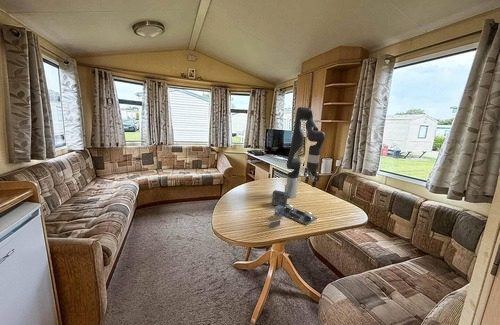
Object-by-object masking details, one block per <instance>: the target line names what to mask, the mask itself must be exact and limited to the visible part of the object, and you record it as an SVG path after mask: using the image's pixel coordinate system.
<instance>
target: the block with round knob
mask: <svg viewBox="0 0 500 325" xmlns="http://www.w3.org/2000/svg"><path fill="white" fill-rule="evenodd" d="M276 215H277V217H278V216H279V217H281V218H283V217H285V216H284V207H283V206H281V205H279V206H274V214H273V217H274V216H276Z"/></svg>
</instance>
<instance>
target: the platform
mask: <svg viewBox="0 0 500 325" xmlns="http://www.w3.org/2000/svg"><path fill="white" fill-rule="evenodd" d="M267 220H268V223H269V229H270V228H274V227H278V226H280V225H281V221H282V220H283V217H279V216H278V217H277V215H276V216H274V215H273V216H270V217H269V218H267Z"/></svg>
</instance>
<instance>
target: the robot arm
mask: <svg viewBox="0 0 500 325" xmlns="http://www.w3.org/2000/svg"><path fill="white" fill-rule="evenodd" d="M301 121H306V122H305V128H306V131H307V140H308V141H309V142H314V144H312V145H309V148H308V155H307V160H306V167H304V170H303V172H304V173H303V176H304V178H305V179H304V183H305V184H308V183H309V179H310V178H311V179H312V182H311V188H316V186H317V185H316V184H317V183H318V182H319V181H320V172H319V171H318V172H317V170H318V169H319V167H320V166H319V165H320V154H321V148H322V146H323V143H324V141H325V139H326V134H325V132H324V131H322V130H319V127H318V125H317V124H316V122H315V117H314V112H313V109H311V108H310V107H303V106H299V107H297V109H296V112H295V121H294V128H293V132H292V135H291V136H292V138H291V142H290V143H291V144H290V148H289V153H288V156H287V160H286V168H287V169H288V170H292V171H290V172H288V173H287V176H286V183H285V185H284V186H285V187H284V192H287V193H288V196H287V198H291V199H294V198H296V197H297V191H298V182H299V175H300V170H301V164H302V162H301V159H300V158H296V157H295V155H296V153H298V151H300V149H301V148H302V147H303V144H304V141H305V135H304V131H303V129H302V127H301ZM294 157H295V158H294Z"/></svg>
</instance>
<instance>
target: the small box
mask: <svg viewBox="0 0 500 325" xmlns="http://www.w3.org/2000/svg"><path fill="white" fill-rule="evenodd" d="M271 196H272V198H271V206H274V207H276V206H279V205H281V206H283V207H284V208H286V207H285V206H286V204H288V197H287V196H288V193H287V192H285V191H281V190H276V189H275V190H274V191H273V192H272V195H271Z"/></svg>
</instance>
